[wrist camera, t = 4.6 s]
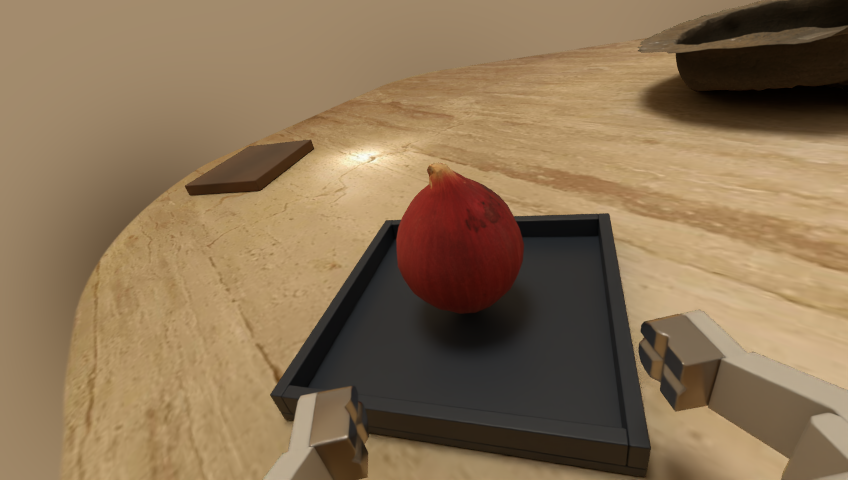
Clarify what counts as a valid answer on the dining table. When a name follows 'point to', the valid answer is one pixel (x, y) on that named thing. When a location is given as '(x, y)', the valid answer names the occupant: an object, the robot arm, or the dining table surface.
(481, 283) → the onion
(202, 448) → the dining table surface
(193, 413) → the dining table surface
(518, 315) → the tray
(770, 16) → the stone bowl
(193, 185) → the board
